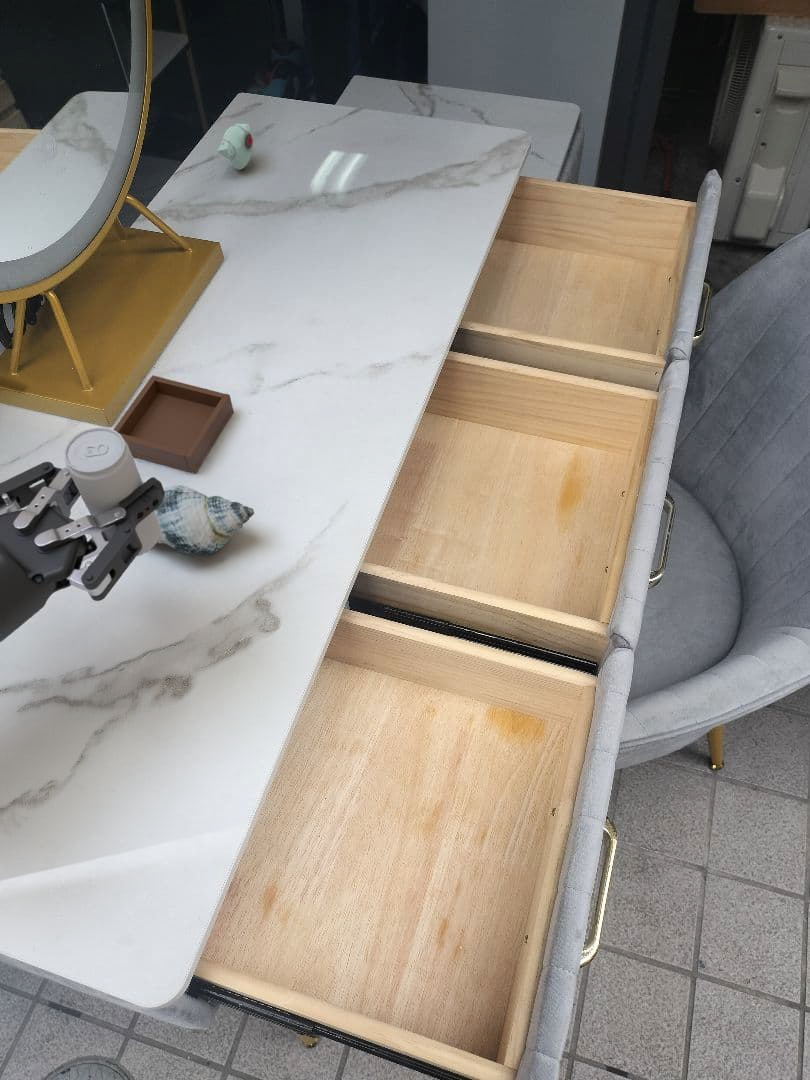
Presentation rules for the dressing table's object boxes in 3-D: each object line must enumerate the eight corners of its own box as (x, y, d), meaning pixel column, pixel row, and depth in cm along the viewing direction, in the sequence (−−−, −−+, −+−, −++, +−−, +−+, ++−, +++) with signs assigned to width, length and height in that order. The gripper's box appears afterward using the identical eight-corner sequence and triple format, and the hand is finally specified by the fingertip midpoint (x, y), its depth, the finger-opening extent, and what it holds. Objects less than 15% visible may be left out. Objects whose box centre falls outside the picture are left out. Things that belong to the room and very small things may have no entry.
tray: (116, 452, 92) (108, 435, 89) (158, 392, 97) (152, 374, 95) (195, 474, 90) (190, 457, 88) (234, 411, 95) (229, 394, 93)
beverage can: (105, 521, 73) (62, 431, 63) (160, 512, 74) (125, 421, 64) (107, 565, 71) (61, 478, 61) (163, 555, 71) (127, 467, 61)
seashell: (168, 507, 89) (256, 553, 86) (117, 534, 83) (209, 585, 80) (171, 456, 86) (263, 503, 82) (118, 481, 80) (214, 532, 76)
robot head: (242, 152, 126) (235, 109, 121) (266, 158, 126) (260, 114, 120) (218, 180, 122) (209, 136, 117) (242, 185, 121) (235, 141, 116)
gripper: (0, 638, 55) (188, 483, 62) (-121, 529, 59) (67, 397, 67) (39, 685, 61) (206, 539, 68) (-73, 582, 66) (95, 456, 73)
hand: (137, 469), depth 68 cm, fingers closed on beverage can, 4 cm apart
